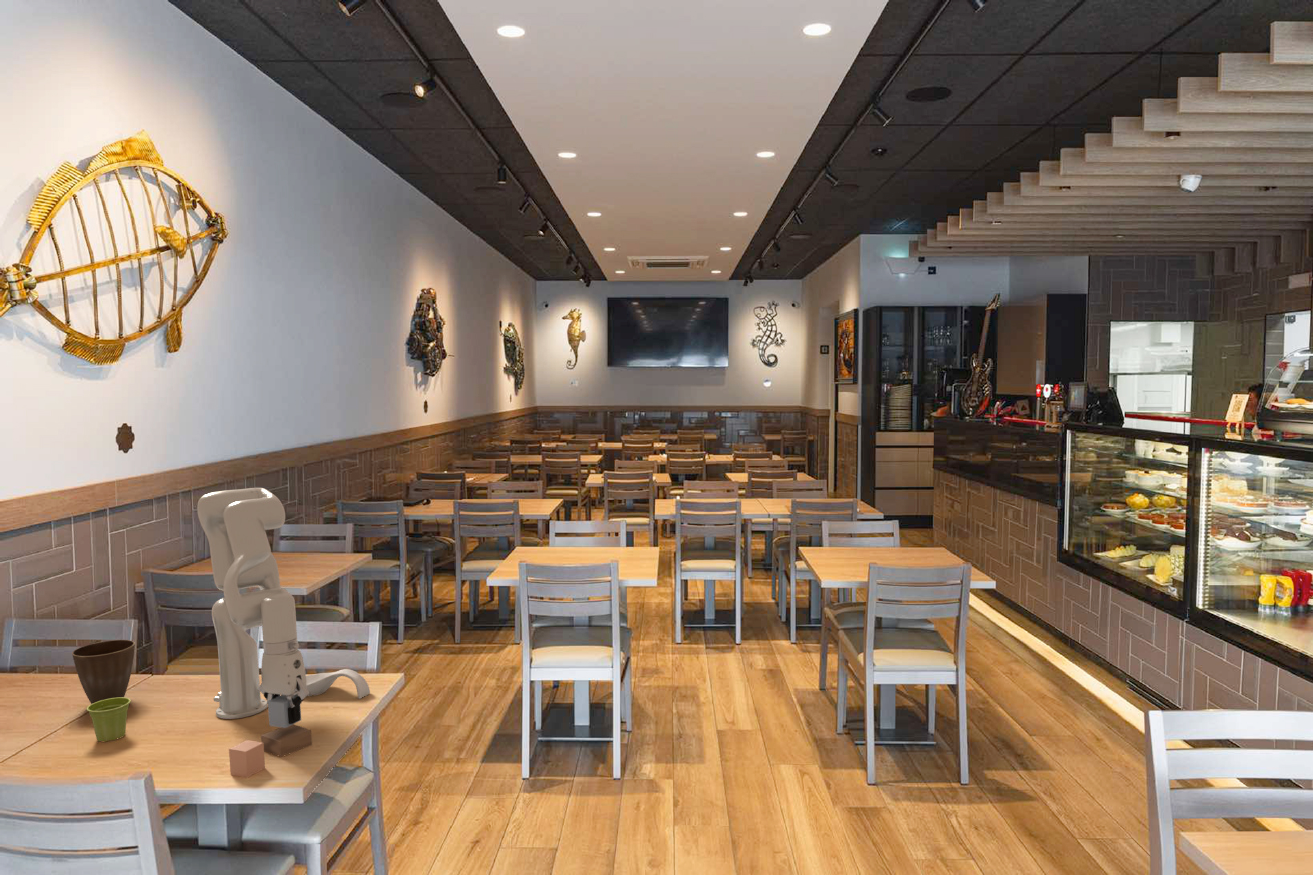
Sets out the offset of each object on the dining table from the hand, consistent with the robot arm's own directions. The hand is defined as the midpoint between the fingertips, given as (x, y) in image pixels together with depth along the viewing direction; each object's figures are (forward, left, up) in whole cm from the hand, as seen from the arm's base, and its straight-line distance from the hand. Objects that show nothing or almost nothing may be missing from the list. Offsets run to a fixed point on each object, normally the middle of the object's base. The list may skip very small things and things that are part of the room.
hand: (285, 719), depth 208 cm
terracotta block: (+1, -13, -7) cm, 15 cm away
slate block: (0, 0, -1) cm, 1 cm away
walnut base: (0, 0, -7) cm, 7 cm away
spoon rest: (-17, +33, -7) cm, 38 cm away
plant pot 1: (-74, +8, -7) cm, 75 cm away
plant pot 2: (-49, -9, -7) cm, 50 cm away
